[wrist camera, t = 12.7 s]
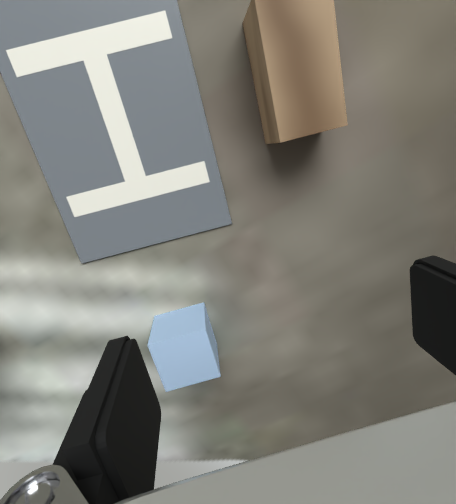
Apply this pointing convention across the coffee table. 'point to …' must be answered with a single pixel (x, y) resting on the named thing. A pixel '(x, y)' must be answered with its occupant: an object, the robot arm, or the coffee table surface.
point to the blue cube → (184, 347)
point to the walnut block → (295, 67)
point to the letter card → (113, 119)
